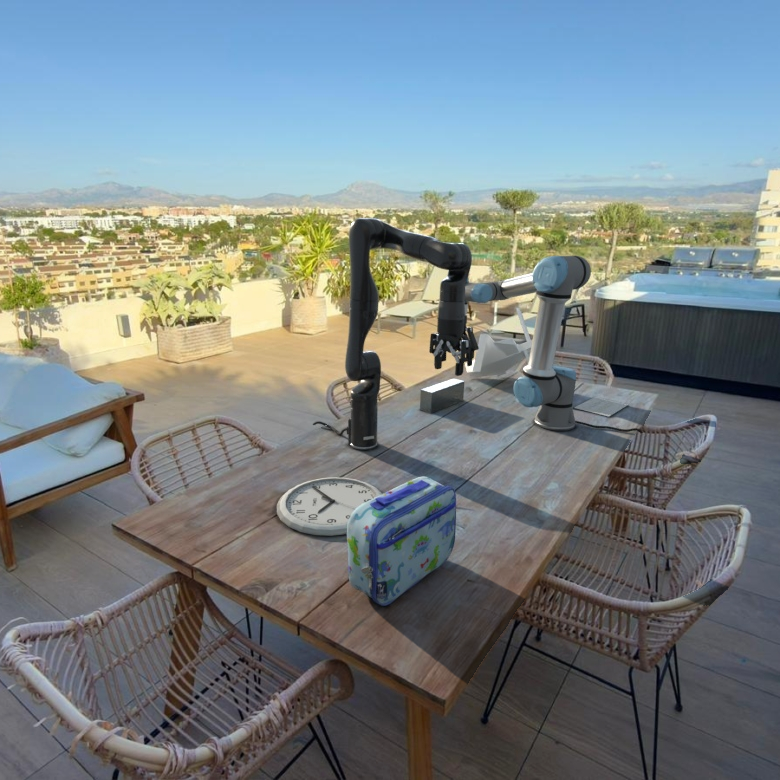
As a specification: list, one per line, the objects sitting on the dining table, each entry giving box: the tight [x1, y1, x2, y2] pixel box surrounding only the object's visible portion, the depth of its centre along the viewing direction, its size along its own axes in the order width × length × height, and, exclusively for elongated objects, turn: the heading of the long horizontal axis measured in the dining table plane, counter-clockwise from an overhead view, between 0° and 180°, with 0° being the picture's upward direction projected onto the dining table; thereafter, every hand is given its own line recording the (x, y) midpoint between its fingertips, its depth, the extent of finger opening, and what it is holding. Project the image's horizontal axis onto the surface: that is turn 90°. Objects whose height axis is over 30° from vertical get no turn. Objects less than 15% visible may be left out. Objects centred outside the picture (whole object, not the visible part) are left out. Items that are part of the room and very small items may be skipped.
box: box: [419, 378, 465, 414], centre depth 224 cm, size 23×6×9 cm, turn 138°
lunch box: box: [346, 475, 457, 607], centre depth 111 cm, size 26×11×21 cm, turn 134°
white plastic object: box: [464, 307, 533, 379], centre depth 258 cm, size 37×45×31 cm
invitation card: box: [573, 396, 629, 418], centre depth 226 cm, size 21×1×15 cm
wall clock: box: [276, 476, 384, 537], centre depth 142 cm, size 30×2×30 cm
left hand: (448, 372), depth 152 cm, fingers open, 8 cm apart
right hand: (456, 363), depth 226 cm, fingers open, 13 cm apart
